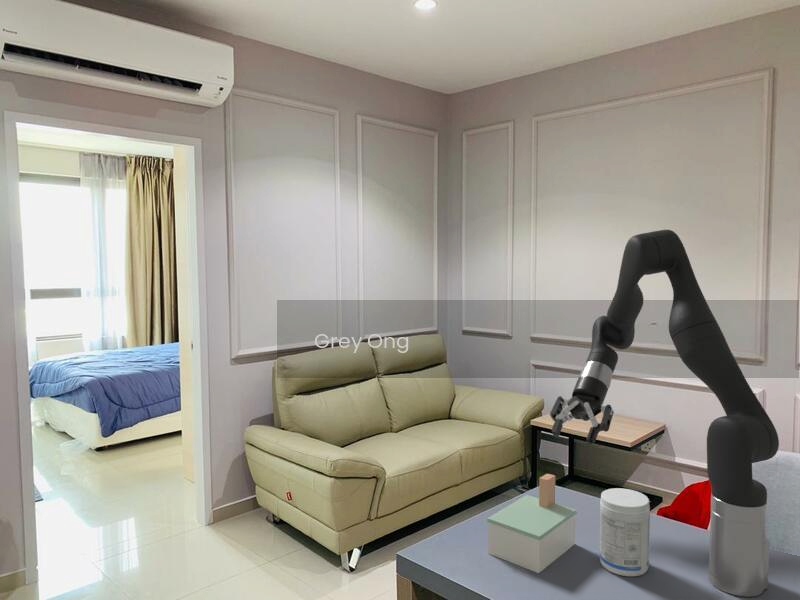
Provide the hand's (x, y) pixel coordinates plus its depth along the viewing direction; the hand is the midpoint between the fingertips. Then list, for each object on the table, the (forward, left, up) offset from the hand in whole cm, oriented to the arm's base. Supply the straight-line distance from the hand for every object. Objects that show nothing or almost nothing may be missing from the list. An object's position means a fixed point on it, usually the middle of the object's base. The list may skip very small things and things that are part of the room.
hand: (571, 439), depth 141 cm
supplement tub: (0, +21, -20) cm, 29 cm away
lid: (+15, +10, -14) cm, 23 cm away
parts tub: (+15, +10, -20) cm, 27 cm away
